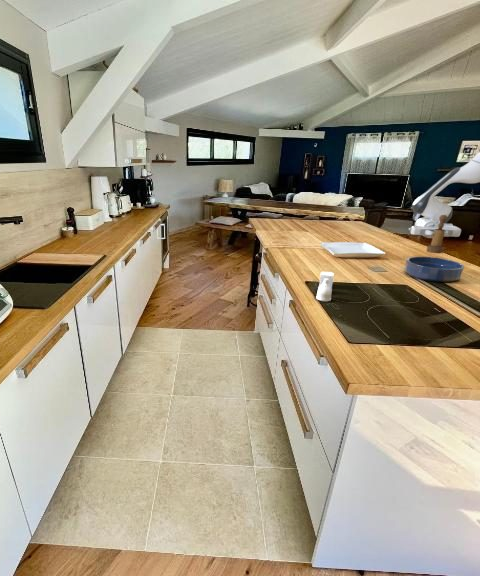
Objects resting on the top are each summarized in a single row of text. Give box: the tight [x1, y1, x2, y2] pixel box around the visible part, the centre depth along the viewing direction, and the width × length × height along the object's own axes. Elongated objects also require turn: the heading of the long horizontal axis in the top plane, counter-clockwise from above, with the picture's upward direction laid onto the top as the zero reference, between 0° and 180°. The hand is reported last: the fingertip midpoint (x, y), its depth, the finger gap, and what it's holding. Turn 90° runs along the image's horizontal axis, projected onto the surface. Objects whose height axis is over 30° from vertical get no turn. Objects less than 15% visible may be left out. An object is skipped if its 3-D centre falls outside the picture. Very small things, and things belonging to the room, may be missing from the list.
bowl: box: [403, 256, 465, 283], centre depth 140 cm, size 21×21×6 cm
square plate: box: [319, 241, 387, 259], centre depth 179 cm, size 27×27×4 cm
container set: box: [315, 271, 335, 302], centre depth 123 cm, size 20×5×6 cm, turn 156°
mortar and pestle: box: [425, 215, 447, 254], centre depth 152 cm, size 7×6×18 cm
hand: (439, 234), depth 151 cm, fingers closed on mortar and pestle, 4 cm apart
